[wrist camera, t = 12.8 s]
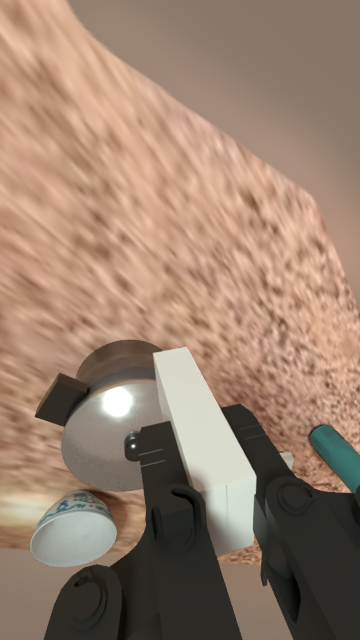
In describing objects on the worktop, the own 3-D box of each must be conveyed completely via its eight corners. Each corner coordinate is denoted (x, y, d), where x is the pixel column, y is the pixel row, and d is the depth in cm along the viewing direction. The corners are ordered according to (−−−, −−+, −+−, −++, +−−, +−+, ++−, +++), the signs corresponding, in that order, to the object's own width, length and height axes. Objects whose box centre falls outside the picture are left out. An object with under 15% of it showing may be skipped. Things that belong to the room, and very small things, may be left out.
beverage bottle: (299, 438, 70) (367, 523, 52) (315, 416, 68) (390, 496, 50) (319, 443, 72) (390, 526, 54) (334, 422, 70) (413, 500, 52)
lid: (36, 464, 40) (18, 534, 32) (110, 355, 37) (111, 403, 28) (197, 508, 52) (215, 568, 44) (266, 429, 48) (300, 478, 40)
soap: (266, 451, 69) (273, 461, 67) (292, 449, 71) (299, 459, 69) (257, 479, 73) (263, 490, 70) (282, 477, 74) (288, 487, 72)
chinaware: (75, 463, 57) (71, 500, 51) (130, 494, 64) (133, 530, 57) (21, 510, 59) (10, 552, 52) (80, 535, 65) (77, 575, 59)
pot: (32, 396, 50) (12, 453, 39) (86, 309, 46) (81, 345, 35) (183, 451, 63) (199, 504, 52) (234, 386, 59) (263, 429, 48)
